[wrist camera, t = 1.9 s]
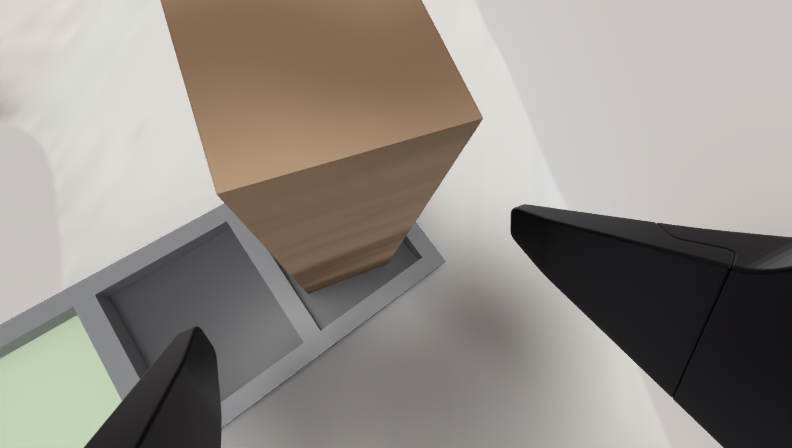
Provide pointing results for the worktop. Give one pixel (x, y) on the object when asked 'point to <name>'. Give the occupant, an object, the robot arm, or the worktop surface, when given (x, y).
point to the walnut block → (322, 122)
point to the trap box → (180, 326)
